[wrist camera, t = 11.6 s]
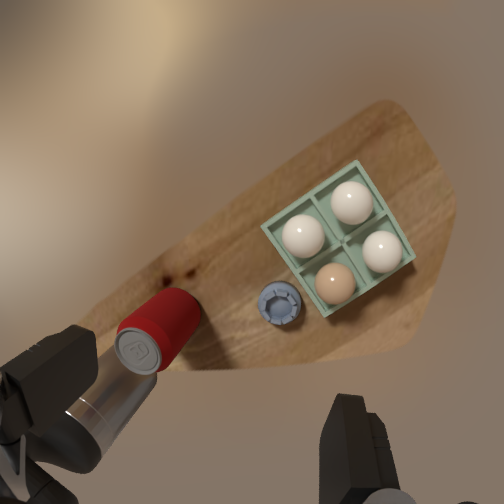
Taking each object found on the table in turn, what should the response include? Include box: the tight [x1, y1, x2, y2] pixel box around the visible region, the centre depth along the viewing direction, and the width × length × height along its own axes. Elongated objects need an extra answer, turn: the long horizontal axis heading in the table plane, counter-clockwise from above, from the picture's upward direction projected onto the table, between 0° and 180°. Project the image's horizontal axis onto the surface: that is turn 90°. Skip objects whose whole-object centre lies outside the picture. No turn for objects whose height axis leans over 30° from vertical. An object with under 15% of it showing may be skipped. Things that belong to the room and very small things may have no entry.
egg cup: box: [258, 281, 301, 325], centre depth 36 cm, size 5×5×3 cm
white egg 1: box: [282, 214, 325, 258], centre depth 31 cm, size 4×4×4 cm
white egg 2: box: [330, 181, 373, 225], centre depth 30 cm, size 4×4×4 cm
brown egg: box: [314, 263, 356, 305], centre depth 32 cm, size 4×4×4 cm
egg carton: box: [260, 160, 416, 318], centre depth 33 cm, size 12×12×3 cm
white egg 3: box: [362, 230, 403, 273], centre depth 30 cm, size 4×4×4 cm
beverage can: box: [114, 288, 201, 375], centre depth 34 cm, size 7×7×12 cm
